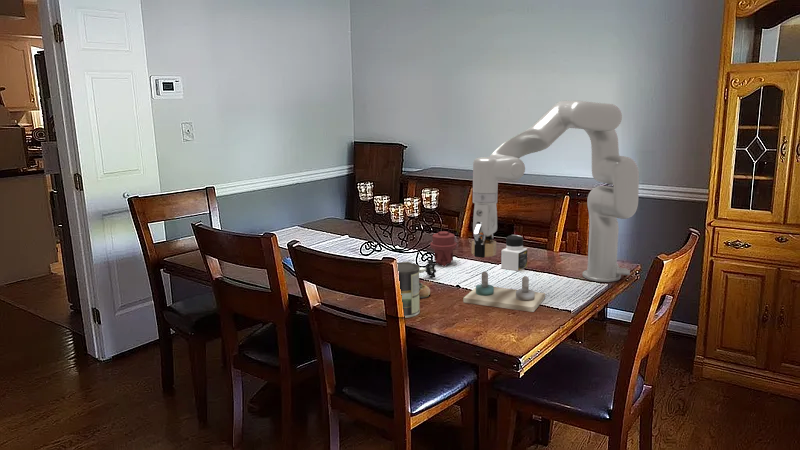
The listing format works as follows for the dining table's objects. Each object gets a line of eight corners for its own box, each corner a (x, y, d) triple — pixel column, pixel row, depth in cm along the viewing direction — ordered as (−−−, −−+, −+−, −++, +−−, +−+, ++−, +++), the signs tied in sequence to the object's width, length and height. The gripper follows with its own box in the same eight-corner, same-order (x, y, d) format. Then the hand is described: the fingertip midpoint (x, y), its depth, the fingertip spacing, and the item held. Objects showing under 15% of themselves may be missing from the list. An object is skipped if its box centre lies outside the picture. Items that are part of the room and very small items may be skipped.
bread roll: (391, 297, 198) (392, 282, 198) (405, 291, 208) (406, 277, 208) (423, 302, 194) (424, 287, 193) (435, 296, 204) (437, 281, 203)
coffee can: (396, 320, 178) (395, 273, 175) (379, 310, 187) (378, 265, 184) (426, 313, 183) (426, 267, 180) (408, 304, 192) (407, 260, 189)
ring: (498, 252, 194) (498, 240, 194) (490, 257, 188) (491, 244, 187) (476, 250, 197) (477, 238, 197) (469, 255, 191) (469, 242, 190)
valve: (403, 284, 212) (436, 280, 215) (403, 265, 210) (436, 262, 214) (397, 279, 218) (429, 275, 221) (397, 261, 216) (429, 257, 220)
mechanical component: (456, 260, 240) (457, 267, 230) (430, 260, 240) (430, 267, 230) (455, 229, 237) (457, 235, 227) (429, 229, 237) (430, 235, 228)
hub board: (545, 297, 194) (545, 271, 193) (533, 312, 182) (534, 284, 180) (478, 289, 204) (478, 264, 202) (463, 302, 192) (463, 276, 190)
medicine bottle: (518, 271, 223) (519, 239, 220) (500, 268, 227) (501, 236, 225) (527, 266, 229) (528, 235, 226) (510, 264, 233) (510, 233, 230)
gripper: (487, 203, 180) (486, 262, 184) (505, 194, 195) (503, 249, 199) (463, 201, 183) (462, 259, 187) (482, 193, 198) (481, 246, 202)
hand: (483, 253), depth 193 cm, fingers closed on ring, 7 cm apart
